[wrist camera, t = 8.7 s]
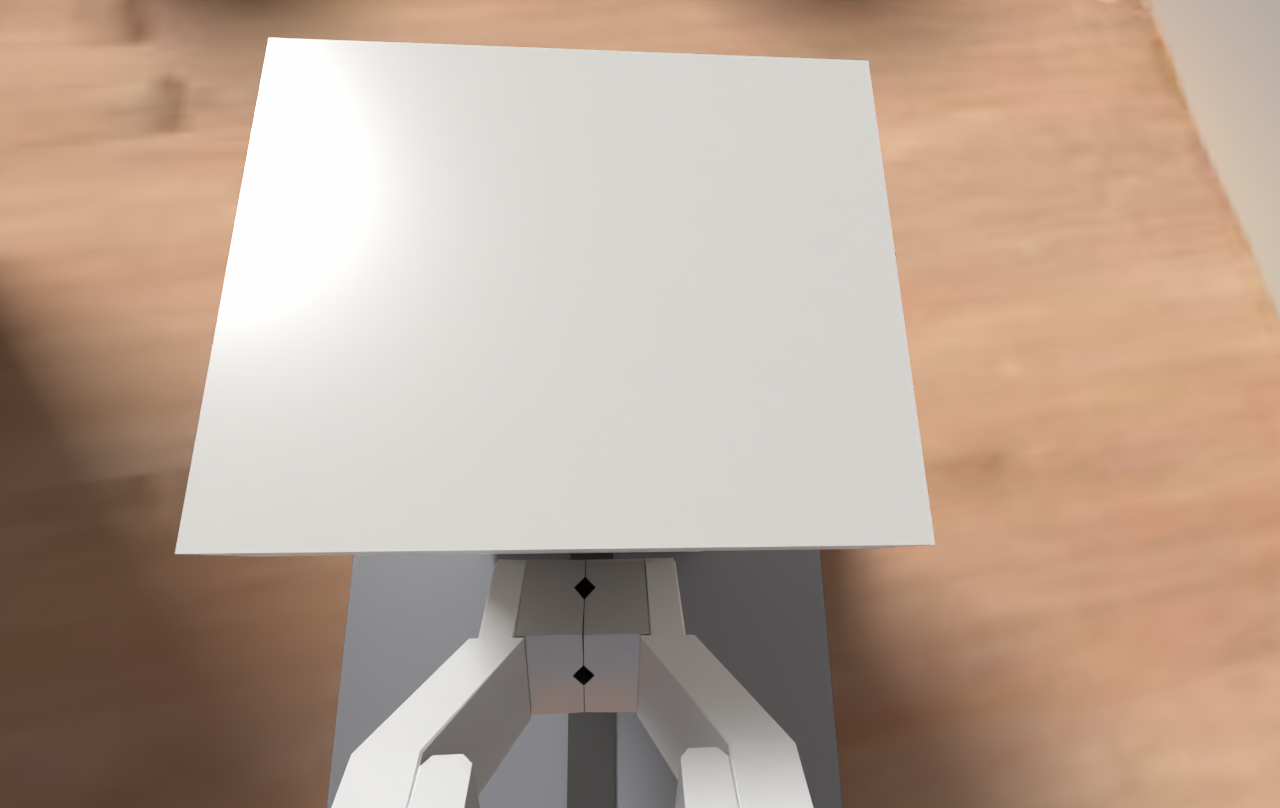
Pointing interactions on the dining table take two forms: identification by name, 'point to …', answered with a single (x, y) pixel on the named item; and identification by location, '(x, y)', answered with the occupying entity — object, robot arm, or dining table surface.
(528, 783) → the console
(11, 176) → the dining table surface
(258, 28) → the dining table surface
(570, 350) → the fader tab
